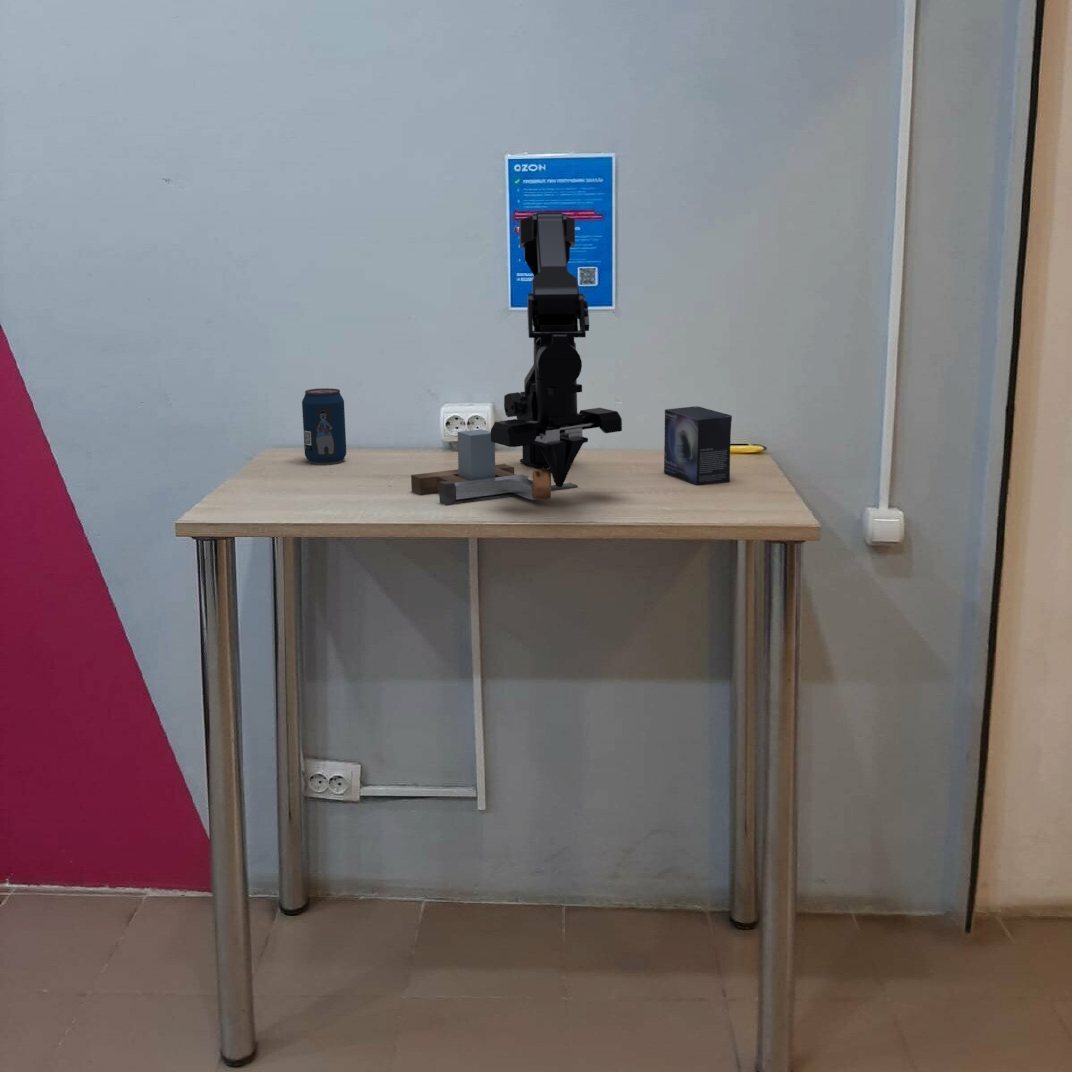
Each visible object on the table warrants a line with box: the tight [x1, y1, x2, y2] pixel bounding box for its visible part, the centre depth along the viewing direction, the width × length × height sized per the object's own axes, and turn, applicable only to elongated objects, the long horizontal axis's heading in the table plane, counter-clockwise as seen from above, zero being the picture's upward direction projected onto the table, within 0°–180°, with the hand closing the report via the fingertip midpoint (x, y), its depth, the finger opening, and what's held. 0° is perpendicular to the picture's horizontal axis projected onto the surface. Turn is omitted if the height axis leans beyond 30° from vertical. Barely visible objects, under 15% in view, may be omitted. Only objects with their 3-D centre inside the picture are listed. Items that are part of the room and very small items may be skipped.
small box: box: [663, 405, 733, 486], centre depth 182 cm, size 11×6×10 cm, turn 23°
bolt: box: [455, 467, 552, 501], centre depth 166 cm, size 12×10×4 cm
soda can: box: [301, 387, 347, 465], centre depth 196 cm, size 7×7×12 cm
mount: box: [410, 463, 579, 506], centre depth 175 cm, size 22×11×3 cm, turn 121°
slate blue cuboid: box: [457, 428, 496, 481], centre depth 173 cm, size 4×4×9 cm
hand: (558, 486), depth 167 cm, fingers closed
